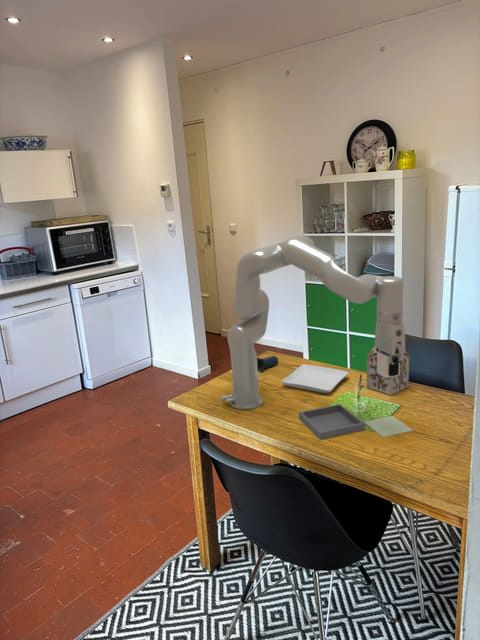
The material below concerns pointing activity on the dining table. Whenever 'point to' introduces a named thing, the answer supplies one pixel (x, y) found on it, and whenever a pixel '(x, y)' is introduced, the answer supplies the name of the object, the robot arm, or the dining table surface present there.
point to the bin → (331, 421)
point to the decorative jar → (386, 384)
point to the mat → (388, 426)
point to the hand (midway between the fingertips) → (388, 371)
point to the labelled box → (384, 364)
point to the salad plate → (315, 378)
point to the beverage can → (266, 362)
